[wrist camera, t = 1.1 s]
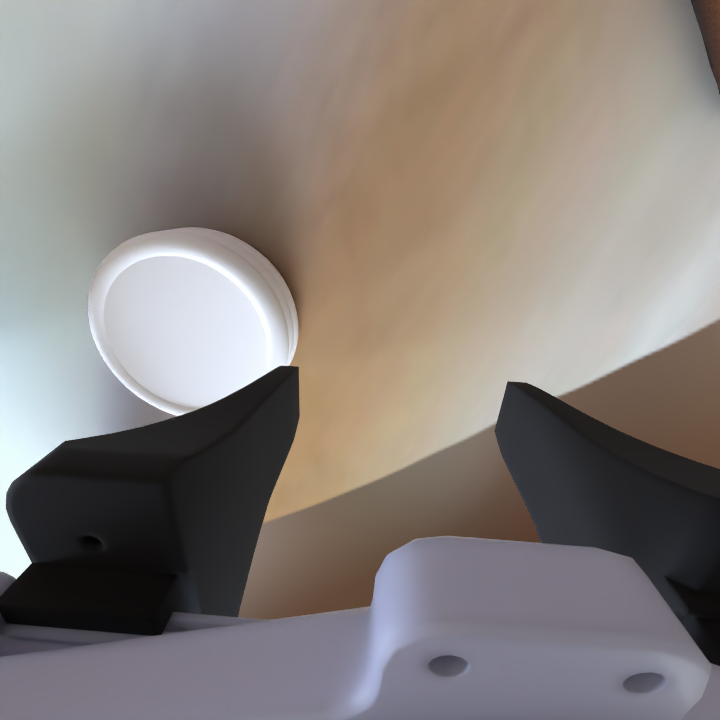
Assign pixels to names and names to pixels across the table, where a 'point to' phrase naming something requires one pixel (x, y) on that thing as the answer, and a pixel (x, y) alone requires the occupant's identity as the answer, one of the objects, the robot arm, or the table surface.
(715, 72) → the sunglasses case
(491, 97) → the table surface
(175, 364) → the white round dish
